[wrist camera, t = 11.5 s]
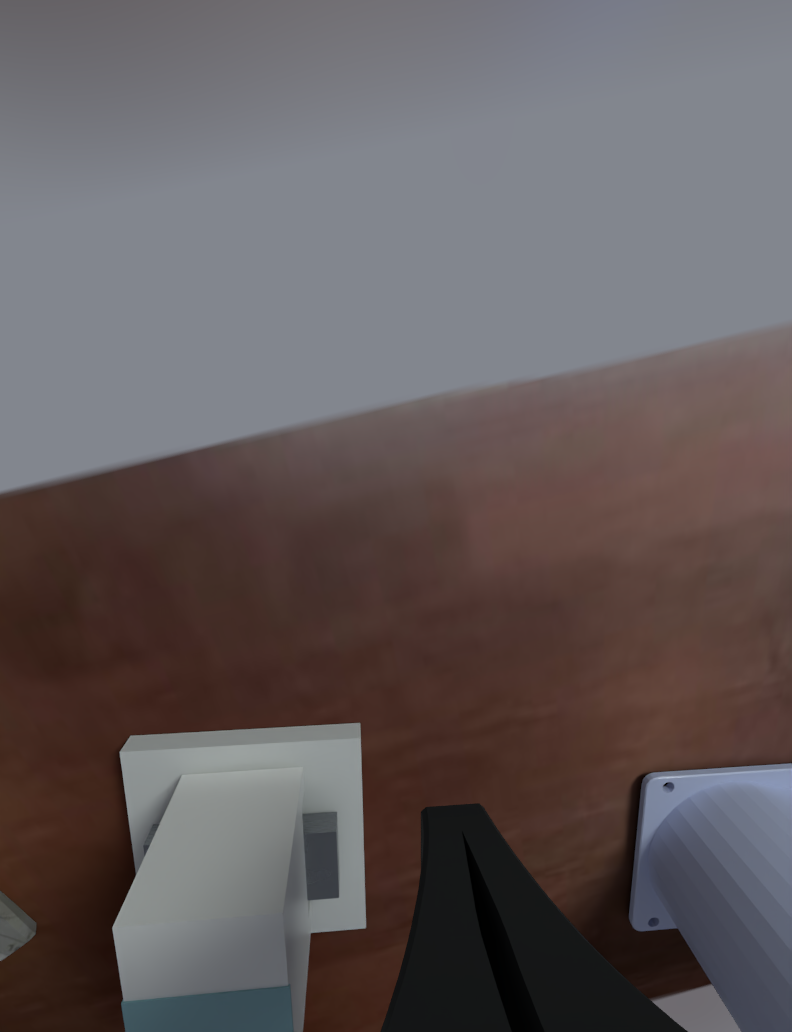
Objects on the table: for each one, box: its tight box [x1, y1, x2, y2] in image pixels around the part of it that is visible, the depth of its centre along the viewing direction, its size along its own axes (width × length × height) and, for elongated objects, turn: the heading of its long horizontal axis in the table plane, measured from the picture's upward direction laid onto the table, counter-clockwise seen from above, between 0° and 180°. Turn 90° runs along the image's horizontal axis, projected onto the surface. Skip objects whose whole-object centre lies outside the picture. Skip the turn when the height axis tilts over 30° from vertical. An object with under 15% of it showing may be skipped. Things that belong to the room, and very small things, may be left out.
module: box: [112, 767, 312, 1032], centre depth 18 cm, size 5×7×6 cm, turn 1°
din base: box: [120, 723, 366, 933], centre depth 22 cm, size 9×9×1 cm
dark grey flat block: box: [143, 812, 340, 900], centre depth 21 cm, size 7×3×1 cm, turn 91°
